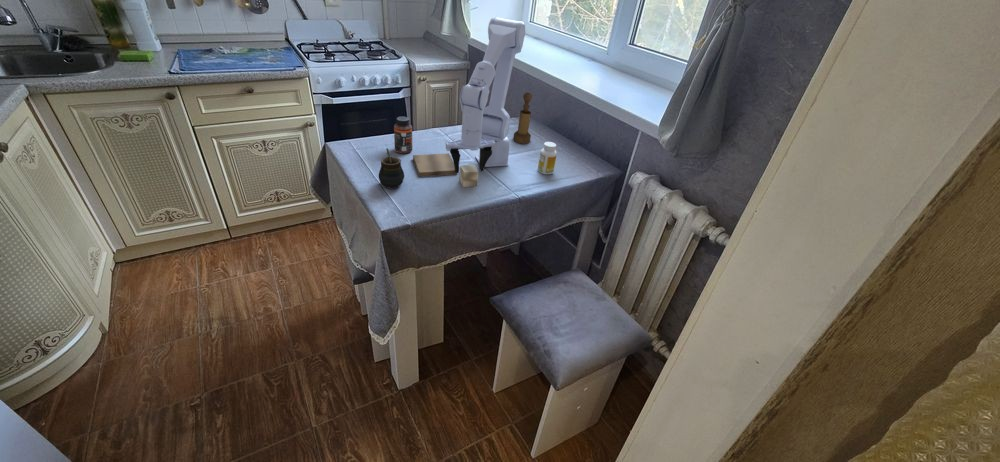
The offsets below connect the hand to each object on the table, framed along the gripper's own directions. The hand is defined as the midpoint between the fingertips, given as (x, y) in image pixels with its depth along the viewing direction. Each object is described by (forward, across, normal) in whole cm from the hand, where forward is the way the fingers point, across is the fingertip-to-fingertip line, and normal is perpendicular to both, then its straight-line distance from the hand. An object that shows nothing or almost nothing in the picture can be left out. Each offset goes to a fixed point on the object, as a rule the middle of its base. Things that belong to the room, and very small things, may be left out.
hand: (469, 170), depth 131 cm
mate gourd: (+4, -23, +2) cm, 23 cm away
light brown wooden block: (+5, -8, +12) cm, 15 cm away
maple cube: (+4, 0, 0) cm, 4 cm away
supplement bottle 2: (+4, +28, +4) cm, 29 cm away
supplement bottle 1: (+4, -16, +25) cm, 30 cm away
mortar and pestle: (+4, +29, +29) cm, 41 cm away
